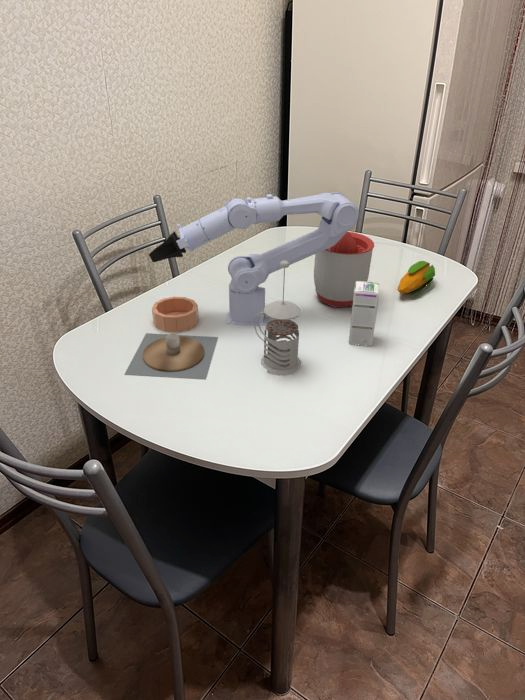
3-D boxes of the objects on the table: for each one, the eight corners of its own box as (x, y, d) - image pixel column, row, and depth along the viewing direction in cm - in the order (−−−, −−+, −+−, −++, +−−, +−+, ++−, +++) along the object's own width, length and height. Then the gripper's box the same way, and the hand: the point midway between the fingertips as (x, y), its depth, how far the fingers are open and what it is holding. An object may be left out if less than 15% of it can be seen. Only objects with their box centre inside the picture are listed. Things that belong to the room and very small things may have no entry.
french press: (288, 380, 113) (294, 274, 100) (244, 364, 118) (243, 261, 105) (309, 359, 120) (317, 258, 107) (266, 345, 125) (269, 246, 112)
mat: (218, 338, 128) (218, 337, 127) (205, 380, 112) (205, 379, 112) (146, 334, 129) (146, 333, 128) (124, 376, 113) (124, 374, 113)
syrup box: (372, 347, 125) (380, 292, 118) (347, 344, 126) (354, 290, 119) (372, 335, 130) (380, 282, 122) (349, 332, 131) (355, 280, 123)
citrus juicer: (337, 279, 157) (345, 214, 146) (377, 303, 145) (388, 235, 134) (296, 290, 150) (300, 224, 139) (333, 317, 138) (342, 246, 127)
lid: (208, 340, 126) (207, 323, 123) (198, 373, 114) (197, 355, 111) (151, 337, 127) (149, 320, 124) (135, 370, 115) (133, 351, 112)
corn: (442, 258, 154) (415, 280, 140) (439, 282, 158) (412, 305, 144) (418, 254, 158) (390, 274, 144) (415, 277, 162) (387, 300, 148)
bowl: (201, 313, 139) (200, 297, 136) (193, 334, 129) (192, 318, 127) (160, 310, 139) (158, 295, 137) (149, 331, 130) (147, 316, 127)
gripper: (197, 213, 128) (148, 238, 128) (195, 215, 114) (140, 243, 114) (210, 240, 130) (162, 264, 130) (209, 245, 116) (155, 272, 116)
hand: (152, 256), depth 123 cm, fingers open, 7 cm apart
